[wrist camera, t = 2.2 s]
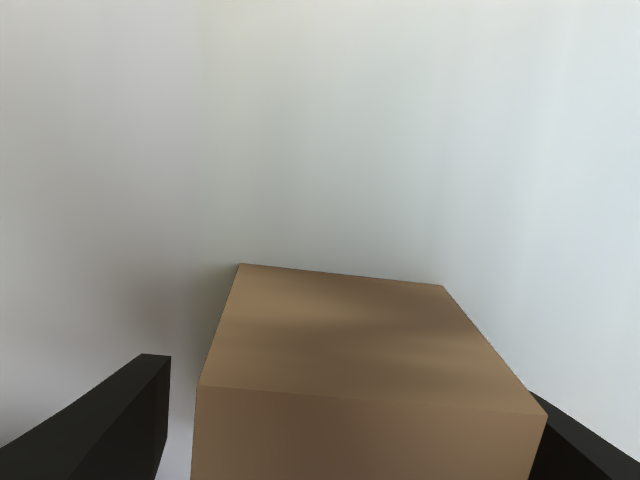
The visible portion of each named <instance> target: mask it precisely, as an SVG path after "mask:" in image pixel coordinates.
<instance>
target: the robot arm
mask: <svg viewBox="0 0 640 480" xmlns="http://www.w3.org/2000/svg"><path fill="white" fill-rule="evenodd" d="M170 371H171V356H163V355H152V354H140V355H139V356H137V357H136V358H135V359H133V360H132V361H130V362H129V363H128V364H126V365H125V366H123V367H122V368H121V369H119V370H118V371H117V372H115V373H114V374H112V375H111V376H110V377H108V378H107V379H106V380H104V381H103V382H101V383H100V384H99V385H97V386H96V387H95V388H93V389H92V390H90V391H89V392H87V393H86V394H85V395H83V396H82V397H80V398H79V399H77V400H76V401H75V402H73V403H72V404H70V405H69V406H67V407H66V408H64V409H63V410H61V411H60V412H58V413H56V414H55V415H53V416H52V417H50V418H49V419H47V420H45V421H44V422H42V423H41V424H39V425H38V426H36V427H35V428H33V429H31V430H30V431H28V432H27V433H25V434H24V435H22V436H20V437H19V438H17V439H16V440H14V441H12V442H10V443H9V444H7V445H5V446H4V447H2V448H0V480H154V479H155V476H156V473H157V470H158V467H159V463H160V460H161V457H162V453H163V450H164V447H165V443H166V440H167V431H168V411H169V391H170ZM528 391H529V390H528ZM529 392H530V391H529ZM530 394H531V395H532V396H533V397H534V399H535V400H536V401H537V402H538V403H539V405H540V406H541V407H542V408H543V410H544V411H545V412H546V413H547V415H548V418H547V421H546V425H545V428H544V431H543V434H542V437H541V440H540V443H539V446H538V449H537V452H536V455H535V458H534V461H533V464H532V467H531V471H530V474H529V477H528V480H640V463H639V462H638V461H636V460H634V459H633V458H631V457H630V456H628V455H627V454H625V453H624V452H622V451H621V450H619V449H618V448H616V447H615V446H613V445H612V444H610V443H609V442H607V441H606V440H604V439H603V438H601V437H600V436H598V435H597V434H595V433H594V432H592V431H591V430H589V429H588V428H586V427H585V426H583V425H582V424H580V423H579V422H577V421H576V420H575V419H573V418H572V417H570V416H569V415H567V414H566V413H564V412H563V411H561V410H560V409H558V408H557V407H555V406H553V405H552V404H550V403H549V402H547V401H546V400H544V399H542V398H541V397H539V396H538V395H536V394H534V393H532V392H530Z"/></svg>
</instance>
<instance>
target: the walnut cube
mask: <svg viewBox="0 0 640 480" xmlns="http://www.w3.org/2000/svg"><path fill="white" fill-rule="evenodd" d="M547 418H548V415H547V413H546V412H545V411H544V410H543V408H542V407H541V406H540V405H539V403H538V402H537V401H536V400H535V399H534V397H533V396H532V395H531V394H530V392H529V391H528V390H527V389H526V388H525V386H524V385H523V384H522V383H521V381H520V380H519V379H518V378H517V376H516V375H515V374H514V373H513V372H512V370H511V369H510V368H509V367H508V365H507V364H506V363H505V362H504V361H503V359H502V358H501V357H500V356H499V354H498V353H497V352H496V351H495V350H494V348H493V347H492V346H491V345H490V343H489V342H488V341H487V340H486V338H485V337H484V336H483V335H482V334H481V332H480V331H479V330H478V329H477V327H476V326H475V325H474V324H473V323H472V321H471V320H470V319H469V318H468V316H467V315H466V314H465V313H464V311H463V310H462V309H461V308H460V307H459V305H458V304H457V303H456V302H455V300H454V299H453V298H452V297H451V296H450V294H449V293H448V292H447V291H446V289H445V288H444V287H443V286H441V285H432V284H423V283H414V282H405V281H396V280H387V279H378V278H369V277H361V276H352V275H343V274H334V273H325V272H316V271H307V270H298V269H289V268H280V267H271V266H262V265H253V264H244V263H240V265H239V268H238V271H237V273H236V276H235V279H234V282H233V285H232V288H231V290H230V293H229V296H228V299H227V302H226V304H225V307H224V310H223V313H222V316H221V319H220V321H219V324H218V327H217V330H216V333H215V335H214V338H213V341H212V344H211V347H210V350H209V352H208V355H207V358H206V361H205V364H204V366H203V369H202V372H201V375H200V378H199V381H198V383H197V391H196V405H195V419H194V433H193V447H192V462H191V476H190V480H528V477H529V474H530V471H531V467H532V464H533V461H534V458H535V455H536V452H537V449H538V446H539V443H540V440H541V437H542V434H543V431H544V428H545V425H546V421H547Z"/></svg>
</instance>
